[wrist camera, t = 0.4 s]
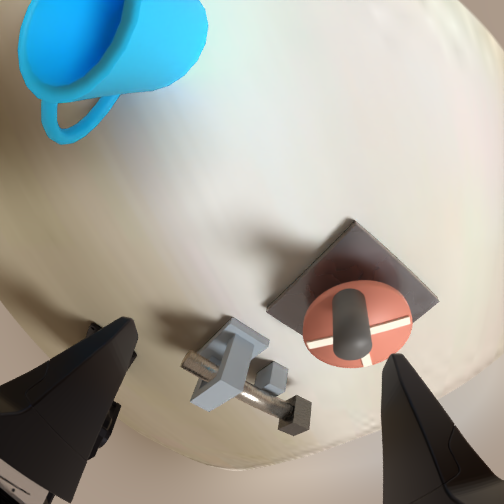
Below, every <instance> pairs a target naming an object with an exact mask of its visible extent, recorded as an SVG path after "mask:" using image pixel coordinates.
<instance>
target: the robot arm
mask: <svg viewBox="0 0 504 504" xmlns="http://www.w3.org/2000/svg"><path fill="white" fill-rule="evenodd" d="M137 340H138V333H137V330H136V326H135V323H134V320H133V319H132V318H128V317H120V318H119V319H117V320H115V321H114V322H112V323H110V324H109V325H107V326H105V327H103V328H102V329H101V328H100V327H98V326H97V325H96V324H94V323H92V324H91V325H90V326H89V329H88V332H87V336H86V338H85V339H83V340H82V341H80V342H78V343H77V344H75V345H73V346H72V347H70V348H68V349H67V350H65V351H63V352H62V353H60V354H58V355H57V356H55V357H53V358H52V359H50V361H47V362H45V363H43V364H42V365H40V366H38V367H37V368H35V369H33V370H31V371H29V372H27V373H25V374H23V375H21V376H19V377H17V378H15V379H13V380H11V381H9V382H7V383H5V384H3V385H1V386H0V504H51V502H52V500H53V498H54V496H55V495H56V496H58V497H60V498H62V499H63V500H65V501H67V502H69V503H71V501H72V499H73V496H74V494H75V491H76V488H77V486H78V483H79V481H80V478H81V476H82V473H83V471H84V468H85V466H86V463H87V460H89V459H91V458H93V457H94V456H95V455H96V452H97V450H98V448H100V447H102V446H103V445H104V444H105V443H106V442H107V440H108V438H109V437H110V435H111V433H112V430H113V428H114V424H115V422H116V419H117V416H118V414H119V411H120V408H121V405H120V404H119V403H116V402H115V401H113V400H114V398H115V396H116V394H117V391H118V389H119V387H120V385H121V383H122V381H123V379H124V376H125V374H126V371H127V370H128V369H129V367H130V366H131V364H132V363H133V361H134V360H135V358H136V357H137V354H136V353H135V352H134V349H135V346H136V343H137ZM381 424H382V444H383V504H504V480H501V479H500V478H498V477H497V476H496V475H495V474H494V473H493V472H492V471H491V470H490V468H489V467H488V466H487V465H486V464H485V463H484V461H483V460H482V459H481V458H480V457H479V455H478V454H477V453H476V452H475V451H474V449H473V448H472V447H471V446H470V445H469V443H468V442H467V441H466V439H465V438H464V437H463V435H462V434H461V433H460V431H459V430H458V428H457V427H456V426H454V423H453V421H452V420H451V418H450V417H449V416H448V414H447V413H446V411H445V410H444V409H443V407H442V406H441V404H440V403H439V402H438V400H437V399H436V398H435V396H434V395H433V393H432V392H431V391H430V389H429V388H428V387H427V385H426V384H425V383H424V381H423V380H422V379H421V377H420V376H419V375H418V373H417V372H416V371H415V369H414V368H413V367H412V366H411V364H410V363H409V362H408V360H407V359H406V358H405V356H404V355H403V354H398V353H392V354H390V356H389V358H388V360H387V362H386V364H385V366H384V368H383V371H382V397H381Z"/></svg>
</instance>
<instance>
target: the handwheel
mask: <svg viewBox="0 0 504 504" xmlns="http://www.w3.org/2000/svg"><path fill="white" fill-rule="evenodd" d="M412 324H413V323H412V315H411V311H410V308H409V305H408V303H407V301H406V299H405V298H404V296H403V295H402V294H401V293H400V292H399V291H398V290H396V289H395V288H393V287H391V286H390V285H387V284H385V283H382V282H377V281H370V280H358V281H351V282H346V283H343V284H340V285H337V286H335V287H332V288H330V289H328V290H327V291H325V292H324V293H322V294H321V295H320V296H318V297H317V298H316V299H315V300H314V301H313V302H312V304H311V305H310V306H309V308H308V310H307V312H306V314H305V317H304V322H303V339H304V343H305V345H306V347H307V348H308V350H309V351H310V352H311V354H313V355H314V356H315V357H316V358H318V359H319V360H321V361H323V362H324V363H327V364H329V365H333V366H336V367H342V368H359V367H366V366H370V365H374V364H377V363H379V362H382V361H384V360H386V359H387V358H389V356H390V354H392V353H396V352H397V351H398V350H399V349H401V347H402V346H403V345H404V344H405V342H406V341H407V339H408V338H409V335H410V333H411V330H412Z"/></svg>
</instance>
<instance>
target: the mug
mask: <svg viewBox="0 0 504 504" xmlns="http://www.w3.org/2000/svg"><path fill="white" fill-rule="evenodd" d="M207 31H208V22H207V17H206V12H205V8H204V7H203V5H202V4H201V2H200V1H199V0H32V1H31V3H30V5H29V6H28V9H27V11H26V14H25V17H24V20H23V23H22V26H21V29H20V35H19V43H18V59H19V68H20V72H21V74H22V77H23V79H24V81H25V84H26V86H27V87H28V88H29V89H30V91H31V92H32V93H33V94H34V95H35V96H36V97H37V98H39V99H41V100H42V101H41V122H42V125H43V127H44V130H45V132H46V134H47V136H48V137H49V138H50V139H51V140H53V141H55V142H56V143H58V144H60V145H63V144H71V143H74V142H76V141H78V140H80V139H81V138H83V137H85V136H86V135H87V134H88V133H89V132H90V131H92V130H93V129H94V128H95V127H96V126H97V125H98V124H99V123H100V121H101V120H102V119H103V118H104V117H105V116H106V114H107V113H108V112H109V111H110V109H111V108H112V106H113V105H114V103H115V102H116V100H117V99H118V98H119V96H120V94H127V93H136V92H146V91H154V90H157V89H160V88H163V87H166V86H169V85H171V84H172V83H174V82H175V81H177V80H178V79H180V78H181V77H183V76H184V75H185V74H186V73H187V72H188V71H189V70H190V68H191V67H192V66H193V65H194V64H195V63H196V62H197V60H198V58H199V56H200V54H201V52H202V50H203V48H204V46H205V44H206V37H207ZM97 97H101V98H100V99H99V101H98V102H97V103H96V105H95V106H94V107H93V108H92V109H91V110H90V112H89V113H88V114H87V115H86V116H85V117H84V118H83V119H82V120H80V121H79V122H78V123H77V124H75V125H73V126H71V127H70V128H68V129H61V128H60V127H59V125H58V122H57V105H58V103H68V102H74V101H80V100H85V99H91V98H97Z"/></svg>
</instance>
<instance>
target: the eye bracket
mask: <svg viewBox="0 0 504 504" xmlns="http://www.w3.org/2000/svg"><path fill="white" fill-rule="evenodd" d="M269 341H270V340H268V339H267V338H265V337H263V336H262V335H260V334H259V333H257V332H255V331H254V330H252V329H251V328H249V327H247V326H246V325H244V324H243V323H241V322H239V321H238V320H236V319H235V318H233V317H232V318H231V319H230V320H229V321H228V322H227V323H226V324H225V325H224V326H223V327H222V328H221V329H220V330H219V331H218V332H217V333H216V334H215V335H214V336H213V337H212V338H211V339H210V340H209V341H208V342H207V343H206V344H205V345H204V346H203V347H202V348H201V349H200V350H199V351H198V352H197V353H198V354H200V355H201V356H203V357H205V358H206V359H208V360H210V361H211V362H213V363H215V364H216V365H218V366H220V367H219V370H218V373H217V376H216V377H215V378H214V379H212V380H211V381H210V382H208V383H207V382H206V381H204V380H202V379H200V378H199V379H198V382H197V385H196V387H195V390H194V392H193V395H192V397H191V400H190V402H191V403H193V404H195V405H197V406H199V407H200V408H202V409H204V410H206V411H208V412H210V411H211V410H213V409H215V408H216V407H218V406H220V405H221V404H223V403H225V402H227V401H228V400H230V399H231V398H233V397H235V396H236V395H238V394H240V393H241V392H243V388H244V384H245V380H246V377H247V373H248V369H249V365H250V361H251V360H252V359H253V358H254V357H256V356H257V355H258V354H260V353H261V352H262V351H264V350H265V349H266V348H267V347H268V346H269ZM287 375H288V369H287V368H285V367H283V366H281V365H279V364H278V363H276V362H272V363H271V364H269V365H268V366H267V367H265V368H264V369H262V370H261V371H259V372H258V373H257V376H256V380H255V384H254V386H256V387H258V388H260V389H262V390H264V391H266V392H268V393H270V394H272V395H274V396H278V395H280V394H282V393H283V392H285V389H286V382H287Z"/></svg>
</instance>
